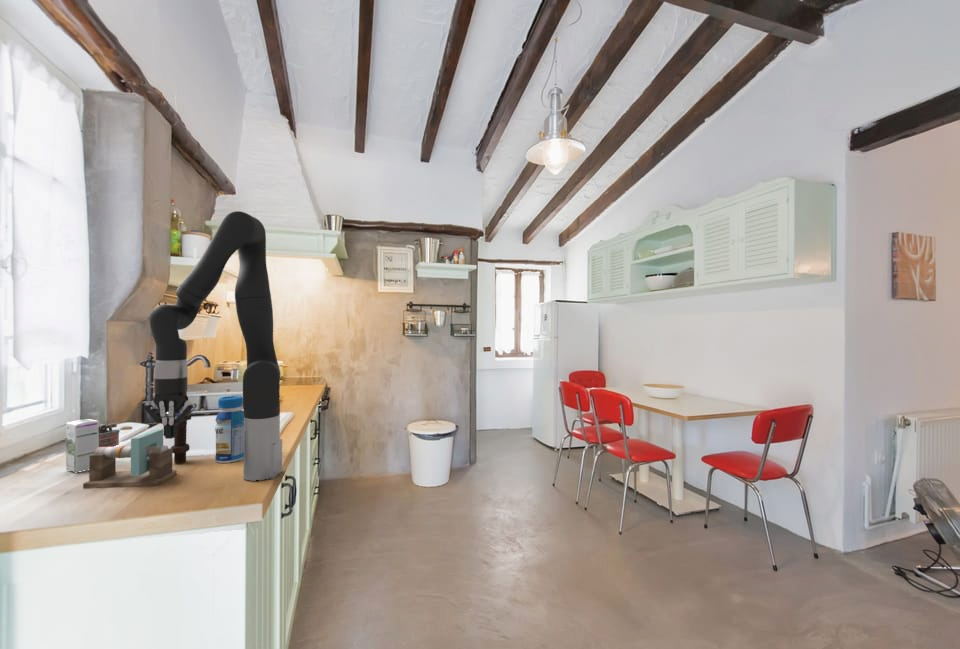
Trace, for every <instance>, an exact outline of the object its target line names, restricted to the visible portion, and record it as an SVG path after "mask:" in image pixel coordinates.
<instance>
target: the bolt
mask: <svg viewBox="0 0 960 649" xmlns="http://www.w3.org/2000/svg"><path fill="white" fill-rule="evenodd" d="M191 414H192V413H191ZM191 414H190V415H189V416H188V417H187V418H186V420H185V421H182V422H180V423H178V429H177V435H176V436H175V437H174V438H173V445H172V446H170V449H172V448H173V453H172V454H173V464H177V465H179V464H184V463H185V462H187V452H189V450H190V445H189V443H187V430H188V429H187V424H188V421H190V420H192V415H191ZM179 416H180V415H179Z"/></svg>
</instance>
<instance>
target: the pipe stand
mask: <svg viewBox="0 0 960 649" xmlns="http://www.w3.org/2000/svg"><path fill="white" fill-rule="evenodd" d="M173 454H174V453H173V448H172V449H171V448H169V447H168V445H163V446H147V457H149V471H147V472H145V473H143V474H141V475H139V476H131V470H127V471H124V470H122V471H116V464H117V460H116V459H125V458H128V459H129V458H130V459H131V445H130V446H129V445H121V446H119V447H98V448H97V449H96V451H95V454H92V455H90V462H89V472H88V474H89V475H88V476H89V478H88V481H86V482H84V483H82V488H83V489H96V488H97V487H102V488H128V487H130V488H131V487H133V488H134V487H156V486H159V485H160V484H162V483H164V482H165V481H167V480H169V479H171V478H172V477H174V476H175V475H177V472H178V471H177V469H173ZM86 487H87V488H86ZM97 489H98V488H97Z"/></svg>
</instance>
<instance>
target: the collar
mask: <svg viewBox="0 0 960 649" xmlns="http://www.w3.org/2000/svg"><path fill="white" fill-rule="evenodd" d="M130 446H131V458H130V471H131V476H139V475H141V474H143V473H145V472H147V471H149V457H147V446H164V428H161V429H160V428H158V429H157V428H156V429H152V430H150V431H148V432H145V433H142V434H139V435H136V436H134V437H131V438H130Z"/></svg>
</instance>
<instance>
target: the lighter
mask: <svg viewBox="0 0 960 649" xmlns="http://www.w3.org/2000/svg"><path fill="white" fill-rule="evenodd" d="M117 427H118V425H117V423H116V422H114V423H108V424H106V425H105V424H103V423H102V424H99V425H98V432H99V447H114V446H116V445H120V443H119V442H120V439H119V438H120V431H121V430H120V429H114V428H117Z"/></svg>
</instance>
